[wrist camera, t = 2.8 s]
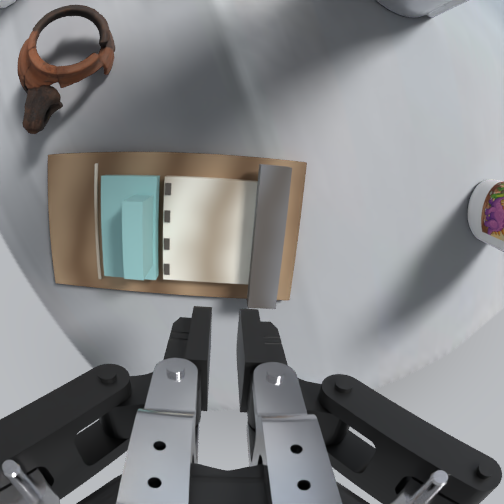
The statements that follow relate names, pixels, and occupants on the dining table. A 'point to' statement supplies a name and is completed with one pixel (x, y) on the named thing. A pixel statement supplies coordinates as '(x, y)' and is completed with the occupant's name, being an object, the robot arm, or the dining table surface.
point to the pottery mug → (43, 74)
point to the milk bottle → (488, 213)
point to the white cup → (6, 3)
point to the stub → (130, 226)
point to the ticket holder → (185, 222)
